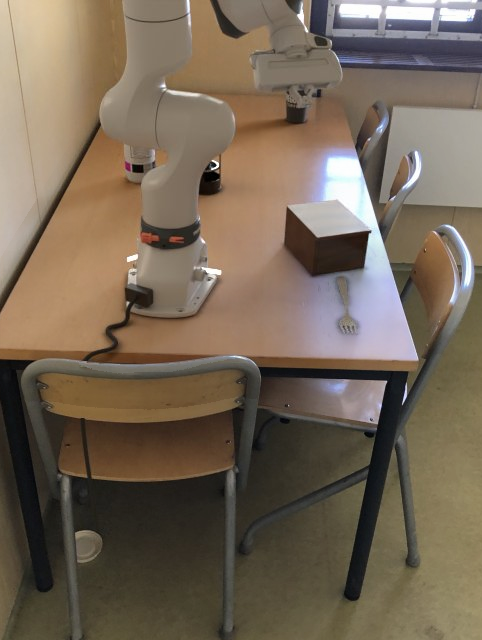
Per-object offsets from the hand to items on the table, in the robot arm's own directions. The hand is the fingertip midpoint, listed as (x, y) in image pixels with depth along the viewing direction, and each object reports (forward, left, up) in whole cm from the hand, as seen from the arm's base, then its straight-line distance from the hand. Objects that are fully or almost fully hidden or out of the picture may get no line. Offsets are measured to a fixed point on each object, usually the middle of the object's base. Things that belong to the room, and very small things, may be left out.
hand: (305, 106), depth 154 cm
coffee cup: (+84, +2, -30) cm, 89 cm away
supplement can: (+24, +43, -30) cm, 58 cm away
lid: (-14, -7, -20) cm, 26 cm away
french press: (+21, +25, -30) cm, 44 cm away
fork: (-35, -11, -30) cm, 47 cm away
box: (-14, -7, -29) cm, 33 cm away
